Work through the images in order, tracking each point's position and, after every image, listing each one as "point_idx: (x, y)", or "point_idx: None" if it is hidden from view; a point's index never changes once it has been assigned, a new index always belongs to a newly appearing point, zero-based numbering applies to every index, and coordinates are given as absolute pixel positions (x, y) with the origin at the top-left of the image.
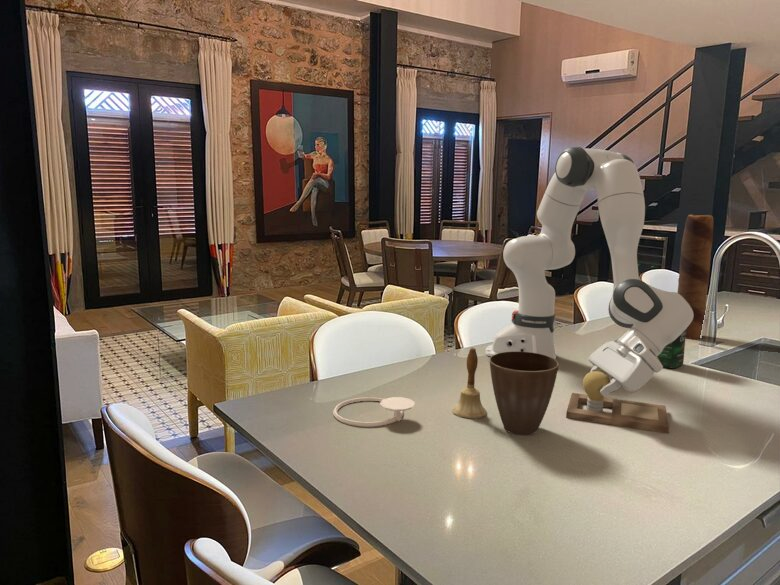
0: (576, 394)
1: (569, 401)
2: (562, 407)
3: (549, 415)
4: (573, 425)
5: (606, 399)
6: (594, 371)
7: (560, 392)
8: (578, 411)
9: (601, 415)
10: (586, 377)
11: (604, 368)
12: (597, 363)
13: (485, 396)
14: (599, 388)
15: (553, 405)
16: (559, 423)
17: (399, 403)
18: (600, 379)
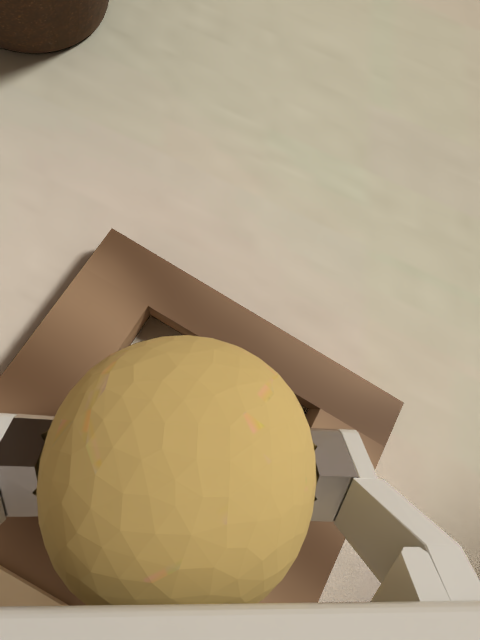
0: (372, 417)
1: (260, 317)
2: (256, 290)
3: (159, 178)
4: (9, 231)
5: (275, 590)
6: (236, 463)
7: (471, 381)
8: (100, 295)
9: (6, 406)
10: (195, 346)
11: (194, 629)
12: (452, 627)
13: (409, 22)
14: (48, 428)
15: (287, 257)
16: (50, 177)
17: None
18: (59, 458)
